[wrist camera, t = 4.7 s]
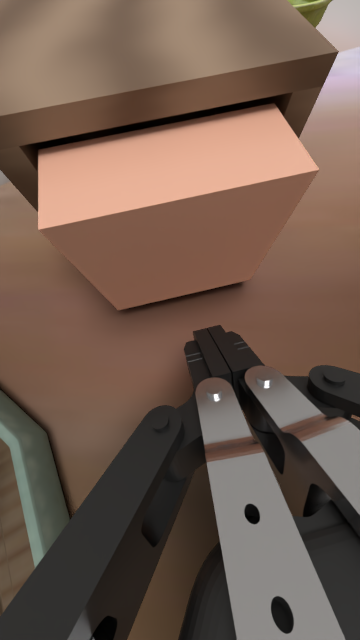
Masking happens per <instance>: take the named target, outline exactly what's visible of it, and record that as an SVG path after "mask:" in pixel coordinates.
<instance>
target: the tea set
mask: <svg viewBox="0 0 360 640" xmlns="http://www.w3.org/2000/svg"><path fill="white" fill-rule="evenodd" d="M69 521H70V518H69V514H68V511H67V507H66V503H65V500H64V496H63V492H62V488H61V485H60V481H59V477H58V474H57V470H56V466H55V462H54V459H53V455H52V451H51V448H50V444H49V440H48V436H47V433H46V432H45V431H44V430H43V429H42V428H41V427H40V426H39V425H38V424H37V423H36V422H34V421H33V420H32V419H31V418H30V417H29V416H28V415H27V414H26V413H25V412H24V411H23V410H22V409H21V408H20V407H18V406H17V405H16V404H15V403H14V402H13V401H12V400H11V399H10V398H9V397H8V396H7V395H6V394H5V393H3V392H2V391H1V390H0V616H1V615H2V613H3V612H4V611H5V609H6V608H7V606H8V605H9V604H10V602H11V601H12V599H13V598H14V597H15V595H16V594H17V593H18V591H19V590H20V588H21V587H22V586H23V584H24V583H25V582H26V580H27V579H28V577H29V576H30V575H31V573H32V572H33V570H34V569H35V568H36V566H37V565H38V564H39V562H40V561H41V559H42V558H43V557H44V555H45V554H46V553H47V551H48V550H49V548H50V547H51V546H52V544H53V543H54V542H55V540H56V539H57V537H58V536H59V535H60V533H61V532H62V530H63V529H64V528H65V526H66V525H67V524H68V522H69Z"/></svg>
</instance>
